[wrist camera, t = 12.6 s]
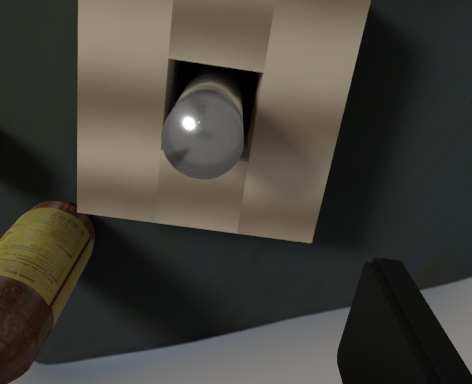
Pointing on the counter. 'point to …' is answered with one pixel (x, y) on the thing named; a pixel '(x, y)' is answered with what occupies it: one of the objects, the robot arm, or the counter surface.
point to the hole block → (261, 118)
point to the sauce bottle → (38, 278)
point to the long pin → (206, 125)
